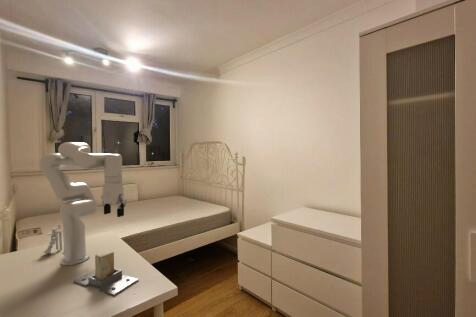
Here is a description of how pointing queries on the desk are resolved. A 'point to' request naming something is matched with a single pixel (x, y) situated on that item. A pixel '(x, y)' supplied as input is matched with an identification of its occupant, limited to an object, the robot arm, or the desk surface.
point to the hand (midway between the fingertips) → (113, 214)
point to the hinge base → (107, 282)
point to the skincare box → (104, 264)
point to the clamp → (54, 234)
